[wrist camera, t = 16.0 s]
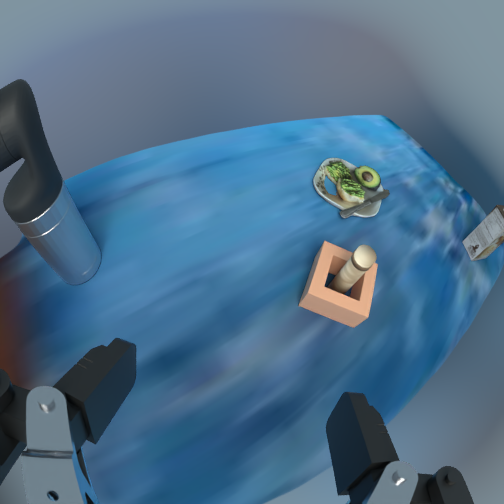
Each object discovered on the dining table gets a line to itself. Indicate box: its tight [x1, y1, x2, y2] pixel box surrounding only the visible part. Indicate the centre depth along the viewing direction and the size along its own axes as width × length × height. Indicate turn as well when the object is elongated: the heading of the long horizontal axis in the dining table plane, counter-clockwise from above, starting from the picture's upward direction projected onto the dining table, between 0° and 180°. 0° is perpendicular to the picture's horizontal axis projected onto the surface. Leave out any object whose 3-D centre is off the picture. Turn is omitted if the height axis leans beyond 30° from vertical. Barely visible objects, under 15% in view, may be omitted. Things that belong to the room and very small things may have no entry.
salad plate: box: [313, 158, 390, 218], centre depth 56 cm, size 19×18×5 cm
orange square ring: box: [298, 241, 378, 328], centre depth 42 cm, size 10×10×5 cm
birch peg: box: [327, 245, 376, 295], centre depth 39 cm, size 3×3×12 cm
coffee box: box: [463, 205, 504, 261], centre depth 48 cm, size 9×6×16 cm
